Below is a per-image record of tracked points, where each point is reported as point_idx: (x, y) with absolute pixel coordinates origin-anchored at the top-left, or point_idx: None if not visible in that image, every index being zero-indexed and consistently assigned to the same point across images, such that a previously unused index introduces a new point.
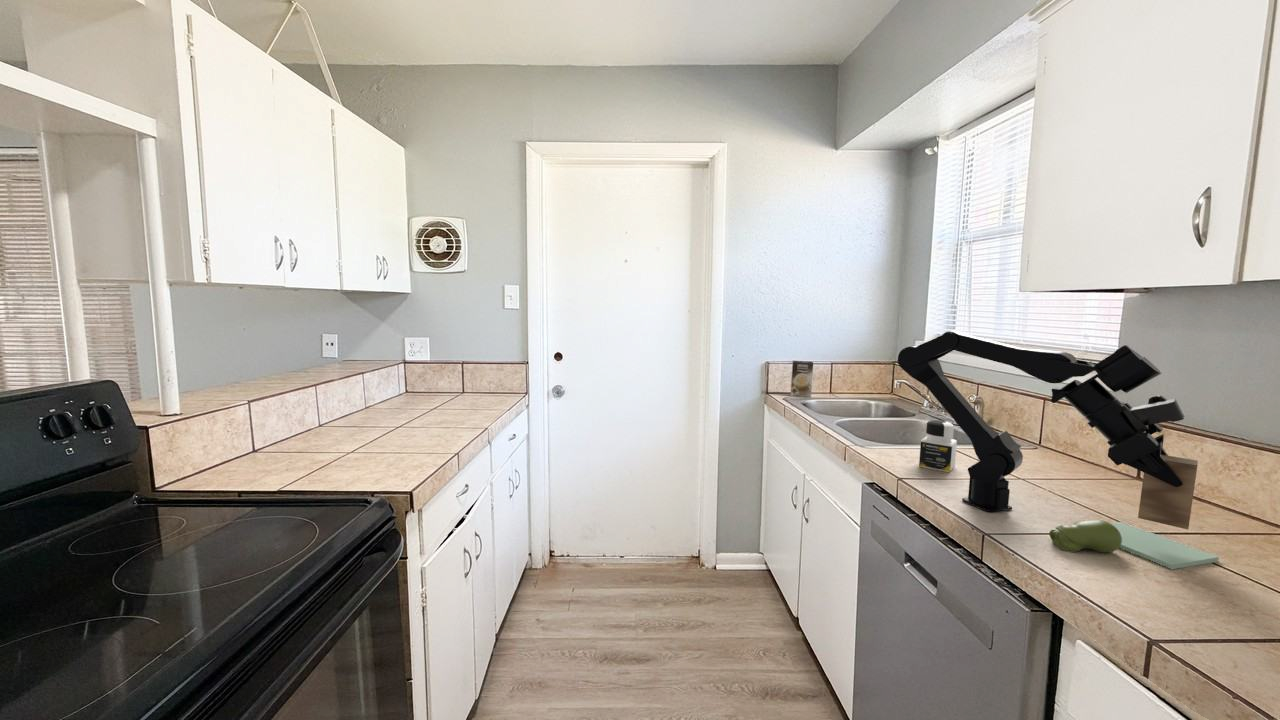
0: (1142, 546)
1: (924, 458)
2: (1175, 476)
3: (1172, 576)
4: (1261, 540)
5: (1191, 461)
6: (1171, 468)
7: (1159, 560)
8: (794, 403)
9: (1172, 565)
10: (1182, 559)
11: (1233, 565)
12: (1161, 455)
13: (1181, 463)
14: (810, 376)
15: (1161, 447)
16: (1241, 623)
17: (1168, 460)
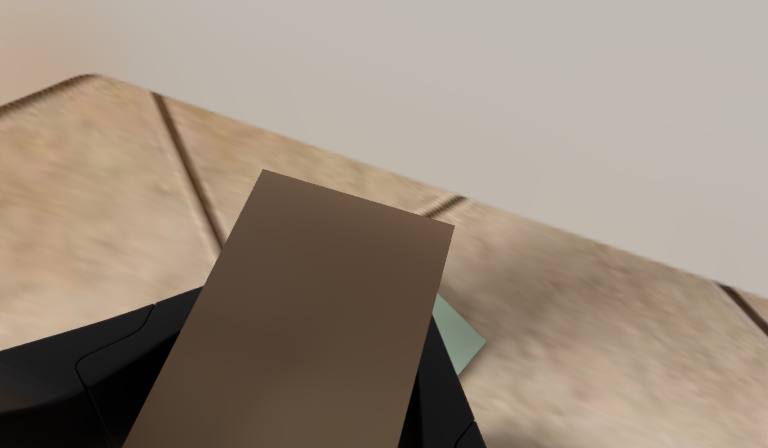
0: None
1: None
2: (446, 351)
3: (524, 351)
4: (202, 117)
5: (327, 223)
6: (420, 377)
7: (469, 359)
8: None
9: (485, 340)
10: (435, 307)
11: None
12: (186, 408)
13: (427, 319)
14: None
15: (30, 413)
16: (683, 302)
17: (403, 417)
